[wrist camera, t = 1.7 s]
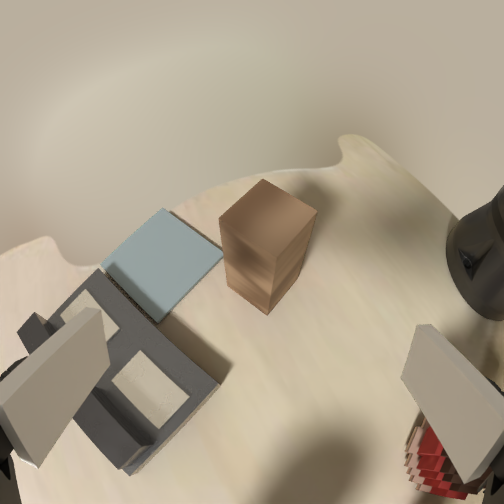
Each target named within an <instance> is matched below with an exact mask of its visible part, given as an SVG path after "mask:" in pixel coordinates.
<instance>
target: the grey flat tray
mask: <svg viewBox="0 0 504 504" xmlns="http://www.w3.org/2000/svg"><path fill="white" fill-rule="evenodd" d="M86 307H89V308H96V309H101V312H102V319H103V326H104V332H105V338H106V344H107V349H108V354H109V359H110V366H109V367H108V368H107V370H106V371H105V373H104V374H103V375H102V377H101V378H100V379H99V381H98V382H97V384H96V385H95V386H94V388H93V389H92V391H91V392H90V393H89V395H88V396H87V398H86V399H85V401H84V402H83V403H82V405H81V406H80V408H79V409H78V411H77V412H76V413H75V415H74V416H73V419H74V420H75V422H76V423H77V424H78V425H79V426H80V428H81V429H82V430H83V431H84V433H85V434H86V435H87V436H88V437H89V438H90V440H91V441H92V442H93V443H94V444H95V445H96V446H97V448H98V449H99V450H100V451H101V452H102V453H103V454H104V455H105V456H106V457H107V458H108V459H109V460H110V462H111V463H112V464H113V465H114V466H115V467H116V468H117V469H118V470H119V469H123V470H124V471H125V472H126V473H127V474H128V475H129V476H131V475H134V474H136V473H138V472H139V471H140V470H141V469H142V468H143V467H144V466H145V465H146V464H147V463H148V462H149V461H150V460H151V459H152V458H153V457H154V456H155V455H156V454H157V453H158V452H159V451H160V450H161V449H162V448H163V447H164V446H165V445H166V444H167V443H168V442H169V441H170V440H171V439H172V438H173V437H174V436H175V435H176V434H177V433H178V432H179V430H180V429H181V428H182V427H183V426H184V425H185V424H186V423H187V422H188V421H189V420H190V419H191V418H192V417H193V416H194V415H195V414H196V412H197V411H198V410H199V409H200V408H201V407H202V406H203V405H204V404H205V403H206V402H207V400H208V399H209V398H210V397H211V396H212V395H213V394H214V393H215V392H216V391H217V389H218V388H219V387H220V384H219V383H218V382H216V381H215V380H214V379H213V378H212V377H210V376H209V375H208V374H207V373H206V372H204V371H203V370H202V369H201V368H200V367H199V366H197V365H196V364H195V363H194V362H193V361H192V360H191V359H189V358H188V357H187V356H186V355H185V354H184V353H183V352H182V351H180V350H179V349H178V348H177V347H176V346H175V345H174V344H173V343H172V342H171V341H169V340H168V339H167V338H166V337H165V336H164V335H163V334H162V333H161V332H160V331H159V330H158V329H157V328H156V327H155V326H154V325H153V324H152V323H151V322H149V321H148V320H147V319H146V318H145V317H144V316H143V315H142V314H141V313H140V312H139V311H138V310H137V309H136V308H135V307H134V306H133V305H132V304H131V303H130V301H129V300H128V299H127V298H126V297H125V296H124V295H123V294H122V293H121V292H120V291H119V290H118V289H117V288H116V287H115V286H114V285H113V284H112V283H111V281H110V280H109V279H108V278H107V277H106V276H105V275H104V274H103V273H102V272H101V270H100V269H99V268H98V269H97V270H96V271H95V272H94V273H93V274H92V275H91V276H90V277H89V278H88V279H87V280H86V281H85V282H84V283H83V284H82V285H81V286H80V287H79V288H78V289H77V290H76V291H75V292H74V293H73V294H72V295H71V296H70V297H69V298H68V299H67V300H66V301H65V302H64V303H63V304H62V305H61V306H60V307H59V308H58V309H57V311H56V312H55V313H54V314H53V315H52V316H51V317H50V318H49V319H48V320H46V319H44V318H43V317H41V316H40V315H38V314H37V313H35V312H34V313H33V314H32V315H31V316H30V318H29V319H28V320H27V321H26V322H25V323H24V324H23V326H22V327H21V328H20V329H19V330H18V331H17V333H18V335H19V337H20V339H21V341H22V342H23V344H24V346H25V348H26V350H27V351H28V353H29V355H31V354H32V353H33V352H34V351H35V350H36V349H37V348H38V347H40V346H41V345H42V344H43V343H44V342H45V341H46V340H48V339H49V338H50V337H51V336H52V335H53V334H55V333H56V332H57V331H58V330H59V329H60V328H62V327H63V326H64V325H65V324H66V323H67V322H69V321H70V320H71V319H72V318H73V317H75V316H76V315H77V314H78V313H79V312H81V311H82V310H83V309H84V308H86Z"/></svg>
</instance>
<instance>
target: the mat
mask: <svg viewBox="0 0 504 504" xmlns="http://www.w3.org/2000/svg"><path fill="white" fill-rule="evenodd" d="M223 257H224V256H223V252H222V251H221V250H220V249H218V248H217V247H216V246H214V245H213V244H211V243H210V242H209V241H207V240H206V239H205V238H203V237H202V236H200V235H199V234H198V233H196V232H195V231H194V230H192V229H191V228H190V227H188V226H187V225H186V224H184V223H183V222H181V221H180V220H179V219H177V218H176V217H175V216H173V215H172V214H171V213H169V212H168V211H166V210H165V209H164V208H162V209H160V210H159V211H158V212H157V213H156V214H155V215H154V216H152V217H151V218H150V219H149V220H148V221H147V222H145V223H144V224H143V225H142V226H141V227H140V228H139V229H137V230H136V231H135V232H134V233H133V234H132V235H131V236H130V237H129V238H127V239H126V240H125V241H124V242H123V243H122V244H121V245H120V246H119V247H118V248H117V249H116V250H115V251H113V252H112V253H111V254H110V255H109V256H108V257H107V258H106V259H105V260H104V261H103V262H102V263H101V264H100V265H101V266H102V267H103V268H104V269H105V270H106V271H107V272H108V274H109V275H110V276H111V277H112V278H113V279H114V280H115V281H116V282H117V283H118V284H119V285H120V286H121V287H122V288H123V289H124V290H125V291H126V293H127V294H128V295H129V296H130V297H131V298H132V299H133V300H134V301H135V302H136V303H137V304H138V305H139V306H140V307H141V308H142V309H143V310H144V311H145V312H146V313H147V314H148V315H149V316H151V317H152V318H153V319H154V320H155V321H156V322H157V323H158V324H159V323H160V321H161V320H162V319H163V318H164V317H165V316H166V315H167V314H168V313H169V312H170V311H171V310H172V309H173V308H174V307H175V306H176V305H177V304H178V303H179V302H180V301H181V300H182V299H183V298H184V297H185V296H186V295H187V294H188V293H189V292H190V291H191V290H192V289H193V287H194V286H195V285H196V284H197V283H198V282H199V281H200V280H201V279H202V278H203V277H204V276H205V275H206V274H207V273H208V272H209V271H210V270H211V269H212V268H213V267H214V266H215V265H216V264H217V263H218V262H219V261H220V260H221V259H222V258H223Z"/></svg>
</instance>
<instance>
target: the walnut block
mask: <svg viewBox="0 0 504 504" xmlns="http://www.w3.org/2000/svg"><path fill="white" fill-rule="evenodd" d="M317 212H318V211H317V210H315V209H314V208H312V207H310V206H309V205H307V204H305V203H304V202H302V201H300V200H299V199H297V198H295V197H294V196H292V195H290V194H289V193H287V192H285V191H283V190H282V189H280V188H278V187H277V186H275V185H273V184H271V183H270V182H268V181H266V180H264V179H262V180H261V181H259V182H258V183H257V184H256V185H255V186H254V187H253V188H252V189H250V190H249V191H248V192H247V193H246V194H245V195H244V196H243V197H241V198H240V199H239V200H238V201H237V202H236V203H235V204H234V205H233V206H232V207H230V208H229V209H228V210H227V211H226V212H225V213H224V214H223V215H222V216H221V217H219V226H220V233H221V241H222V249H223V256H224V264H225V271H226V279H227V286H228V287H230V288H231V289H232V290H234V291H235V292H236V293H238V294H239V295H240V296H242V297H243V298H244V299H246V300H247V301H248V302H250V303H251V304H252V305H254V306H255V307H256V308H258V309H259V310H260V311H262V312H263V313H264V314H266V315H268V314H269V313H270V312H271V311H272V309H273V308H274V307H275V306H276V304H277V303H278V302H279V301H280V300H281V298H282V297H283V296H284V295H285V294H286V292H287V291H288V290H289V289H290V287H291V286H292V285H293V284H294V282H295V281H296V280H297V278H298V275H299V272H300V269H301V265H302V262H303V259H304V256H305V252H306V249H307V246H308V243H309V239H310V236H311V233H312V229H313V226H314V222H315V219H316V215H317Z"/></svg>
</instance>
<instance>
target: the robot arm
mask: <svg viewBox="0 0 504 504" xmlns="http://www.w3.org/2000/svg"><path fill="white" fill-rule="evenodd" d="M446 255H447V262H448V266H449V270H450V273H451V276H452V278H453V280H454V283H455V285H456V287H457V288H458V290H459V292H460V293H461V295H462V296H463V298H464V299H465V300H466V302H467V303H468V304H469V305H470V306H471V307H472V308H473V309H474V310H475V311H476V312H478V313H479V314H480V315H482V316H484V317H486V318H488V319H491V320H495V321H502V320H504V185H503V187H502V188H501V189H500V191H499V192H498V193H497V195H496V196H495V197H494V198H493V200H492V201H491V202H489V203H487V204H486V205H484V206H482V207H480V208H478V209H477V210H475V211H473V212H472V213H469V214H468V215H466V216H464V217H463V218H462V219H461V220H460V221H459V222H458V223H457V224H456V226H455V227H454V228H453V229H452V231H451V232H450V234H449V236H448V240H447V245H446ZM109 366H110V359H109V354H108V349H107V344H106V338H105V332H104V326H103V319H102V312H101V309H96V308H89V307H86V308H84V309H83V310H82V311H81V312H79V313H78V314H77V315H76V316H75V317H73V318H72V319H71V320H70V321H69V322H67V323H66V324H65V325H64V326H63V327H62V328H60V329H59V330H58V331H57V332H56V333H55V334H53V335H52V336H51V337H50V338H49V339H48V340H46V341H45V342H44V343H43V344H42V345H41V346H40V347H38V348H37V349H36V350H35V351H34V352H33V353H32V354H31V355H29V356H26V357H24V358H22V359H20V360H18V361H16V362H15V363H13V364H12V365H11V366H10V367H9V368H8V369H7V371H5V372H3V373H2V374H1V377H0V504H22V503H21V499H20V494H19V490H18V485H17V480H16V475H15V469H14V463H13V459H12V457H11V455H10V453H11V452H12V450H13V449H14V450H15V451H16V453H17V455H18V456H19V458H20V459H21V460H22V461H24V462H25V463H27V464H29V465H31V466H33V467H35V468H37V469H39V467H40V466H41V464H42V463H43V461H44V459H45V458H46V456H47V455H48V453H49V452H50V450H51V449H52V447H53V446H54V444H55V443H56V441H57V440H58V438H59V437H60V435H61V434H62V432H63V431H64V429H65V428H66V426H67V425H68V424H69V422H70V421H71V419H72V418H73V416H74V415H75V413H76V412H77V411H78V409H79V408H80V406H81V405H82V403H83V402H84V401H85V399H86V398H87V396H88V395H89V393H90V392H91V391H92V389H93V388H94V386H95V385H96V384H97V382H98V381H99V379H100V378H101V377H102V375H103V374H104V373H105V371H106V370H107V368H108V367H109ZM401 379H402V381H403V382H404V384H405V385H406V387H407V388H408V390H409V392H410V393H411V395H412V396H413V398H414V400H415V401H416V403H417V404H418V406H419V408H420V409H421V411H422V412H423V414H424V416H425V417H426V419H427V421H428V422H429V424H430V426H431V427H432V429H433V431H434V432H435V434H436V436H437V437H438V439H439V441H440V442H441V444H442V446H443V447H444V449H445V451H446V453H447V454H448V456H449V458H450V460H451V461H452V463H453V465H454V467H455V468H456V470H457V472H458V474H459V476H460V477H461V479H462V481H463V483H464V484H465V483H468V482H470V481H472V480H475V479H477V478H479V477H481V475H482V474H483V473H484V472H485V470H486V469H487V468H488V467H489V465H490V467H491V468H492V470H493V471H492V472H491V473H490V475H489V476H488V477H487V478H486V479H485V481H484V482H483V483H482V484H481V485H480V486H479V488H478V490H477V492H480V491H481V489H482V488H483V487H484V486H485V485H486V489H485V490H484V491H483V493H485V494H484V498H483V502H482V504H504V392H503V391H501V389H500V388H499V387H498V386H497V385H496V383H495V382H493V381H492V380H490V379H488V378H487V377H485V376H483V375H482V374H481V373H480V372H479V371H478V370H477V369H476V368H475V367H474V366H473V365H472V364H471V363H470V362H469V361H468V360H467V359H466V358H465V357H464V356H463V355H462V354H461V353H460V352H459V351H458V350H457V349H456V348H455V347H454V346H453V345H452V344H451V343H450V342H449V341H448V340H447V339H446V338H445V337H444V336H443V335H442V334H441V333H440V332H439V331H438V330H437V329H436V328H434V327H433V326H432V325H431V324H425V325H417V326H416V330H415V334H414V337H413V341H412V344H411V348H410V351H409V354H408V357H407V360H406V364H405V367H404V370H403V373H402V376H401Z"/></svg>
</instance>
